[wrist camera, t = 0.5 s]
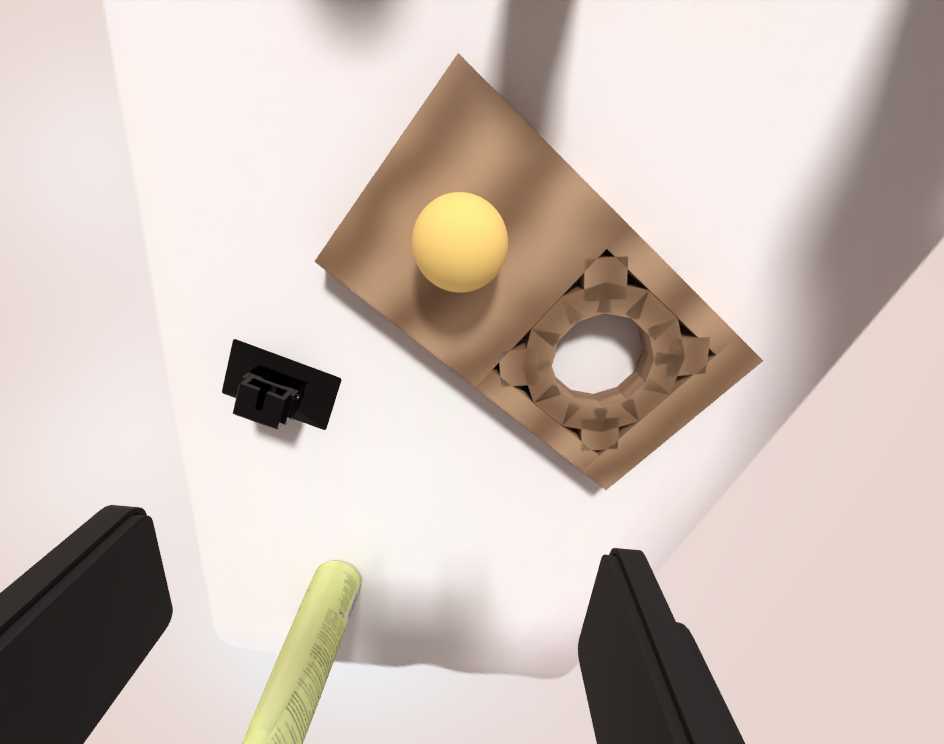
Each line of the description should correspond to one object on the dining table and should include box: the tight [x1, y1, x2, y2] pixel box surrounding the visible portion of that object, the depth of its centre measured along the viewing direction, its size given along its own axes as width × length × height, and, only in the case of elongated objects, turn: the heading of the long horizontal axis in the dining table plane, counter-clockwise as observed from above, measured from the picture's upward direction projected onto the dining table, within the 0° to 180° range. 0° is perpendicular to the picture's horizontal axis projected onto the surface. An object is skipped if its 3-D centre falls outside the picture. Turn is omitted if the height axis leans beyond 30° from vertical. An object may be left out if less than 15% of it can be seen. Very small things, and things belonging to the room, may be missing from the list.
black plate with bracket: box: [222, 339, 341, 430], centre depth 36 cm, size 12×7×5 cm, turn 67°
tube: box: [242, 561, 361, 744], centre depth 37 cm, size 6×5×20 cm
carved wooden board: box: [315, 53, 763, 490], centre depth 33 cm, size 30×16×2 cm, turn 50°
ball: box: [412, 192, 508, 292], centre depth 27 cm, size 6×6×6 cm
